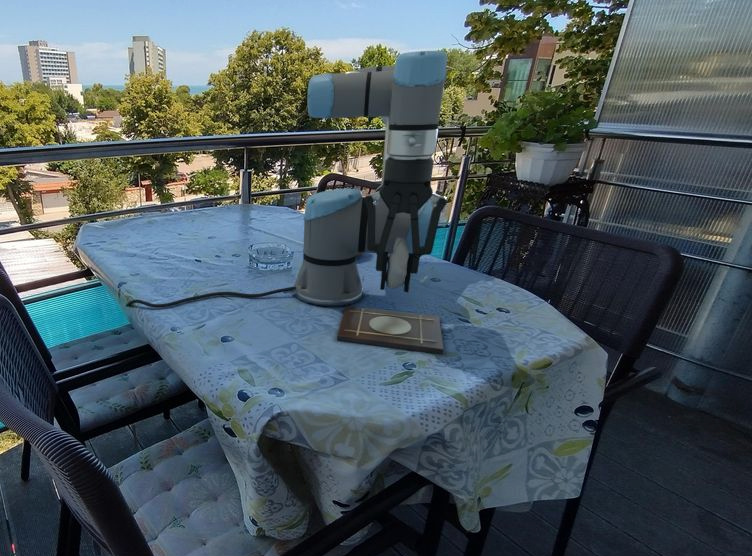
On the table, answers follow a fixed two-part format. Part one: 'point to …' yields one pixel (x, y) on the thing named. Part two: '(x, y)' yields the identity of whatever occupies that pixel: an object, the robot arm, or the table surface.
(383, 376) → the table surface
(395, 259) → the fossil
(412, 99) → the robot arm
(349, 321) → the board
